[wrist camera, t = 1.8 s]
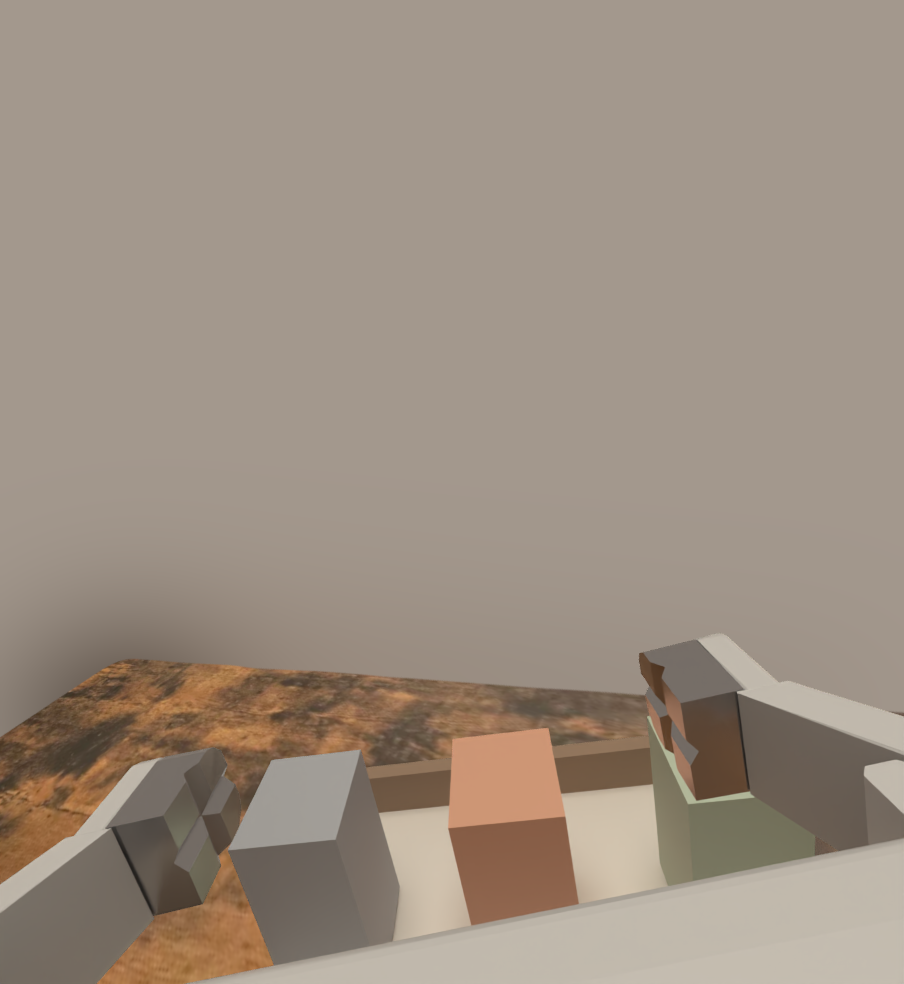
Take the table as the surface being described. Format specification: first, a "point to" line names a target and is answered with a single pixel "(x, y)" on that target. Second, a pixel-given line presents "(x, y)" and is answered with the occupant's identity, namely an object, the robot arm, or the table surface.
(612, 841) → the cream board with rail
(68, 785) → the table surface
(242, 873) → the blue-grey block
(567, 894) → the terracotta rectangular block
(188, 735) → the table surface
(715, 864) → the sage green block
